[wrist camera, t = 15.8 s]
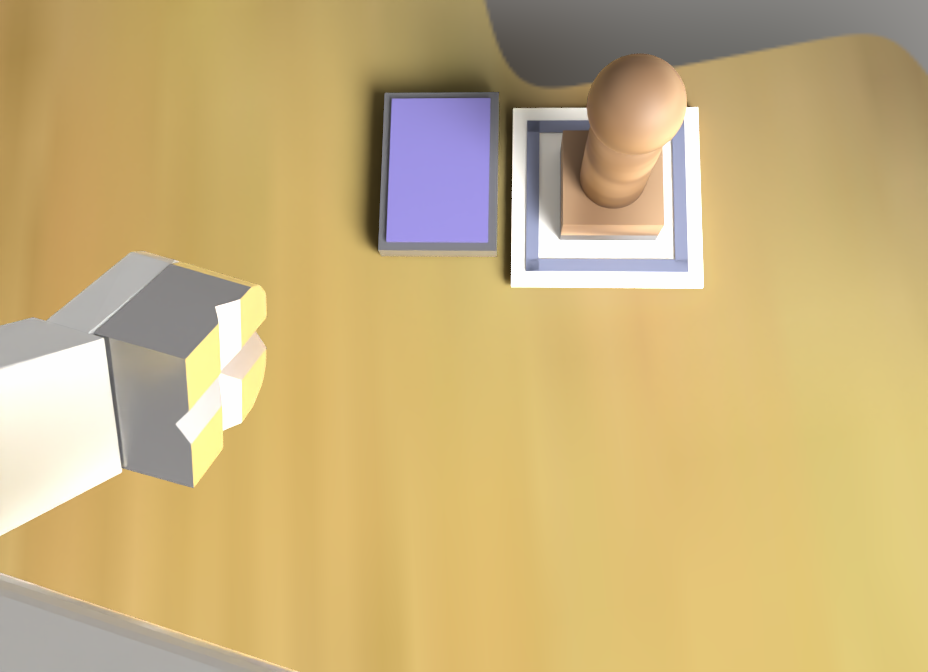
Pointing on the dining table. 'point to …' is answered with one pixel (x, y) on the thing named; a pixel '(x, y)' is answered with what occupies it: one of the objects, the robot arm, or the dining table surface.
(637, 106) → the stamp
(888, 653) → the dining table surface
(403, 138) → the ink pad
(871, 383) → the dining table surface
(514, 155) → the print sheet
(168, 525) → the dining table surface
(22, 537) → the dining table surface
